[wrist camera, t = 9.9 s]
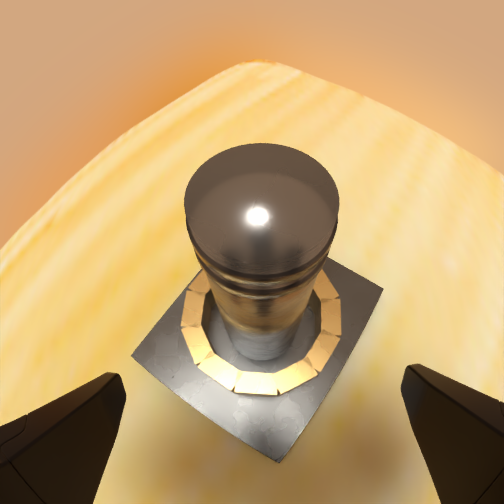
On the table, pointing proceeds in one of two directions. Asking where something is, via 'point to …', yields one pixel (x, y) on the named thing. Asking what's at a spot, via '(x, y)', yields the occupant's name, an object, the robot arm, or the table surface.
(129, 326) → the table surface
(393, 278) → the table surface
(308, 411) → the ring collar
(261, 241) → the piston
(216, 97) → the table surface
